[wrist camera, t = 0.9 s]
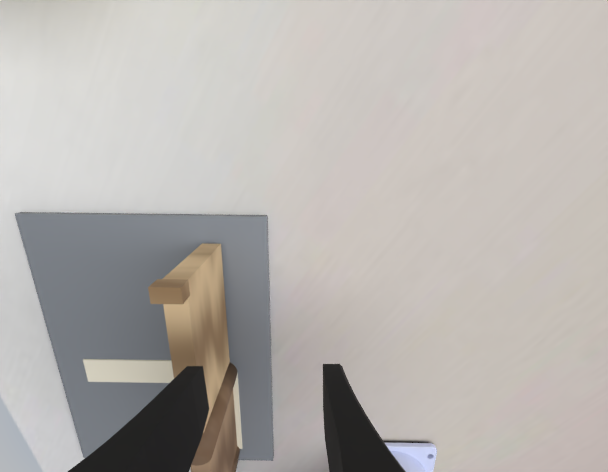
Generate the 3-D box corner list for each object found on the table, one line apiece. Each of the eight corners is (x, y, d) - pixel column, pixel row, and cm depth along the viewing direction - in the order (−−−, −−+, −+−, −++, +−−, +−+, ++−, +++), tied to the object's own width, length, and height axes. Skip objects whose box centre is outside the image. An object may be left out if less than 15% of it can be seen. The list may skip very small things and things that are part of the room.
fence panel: (231, 361, 21) (200, 447, 15) (211, 361, 21) (173, 447, 15) (222, 242, 18) (180, 287, 12) (200, 241, 18) (147, 287, 12)
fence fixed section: (243, 456, 24) (223, 552, 18) (219, 456, 24) (191, 552, 18) (236, 361, 21) (211, 439, 16) (209, 360, 21) (174, 438, 16)
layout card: (273, 455, 25) (273, 461, 24) (87, 452, 25) (82, 458, 24) (267, 215, 19) (266, 217, 18) (20, 212, 19) (13, 213, 18)
